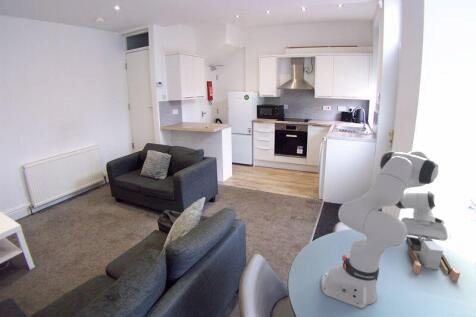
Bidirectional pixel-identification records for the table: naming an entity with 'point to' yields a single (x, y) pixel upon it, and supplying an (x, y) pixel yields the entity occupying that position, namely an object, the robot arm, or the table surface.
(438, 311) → the table surface
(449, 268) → the walnut channel
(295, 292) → the table surface
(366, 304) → the robot arm
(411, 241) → the dark grey tray
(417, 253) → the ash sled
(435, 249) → the small box
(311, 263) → the table surface
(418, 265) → the posts
